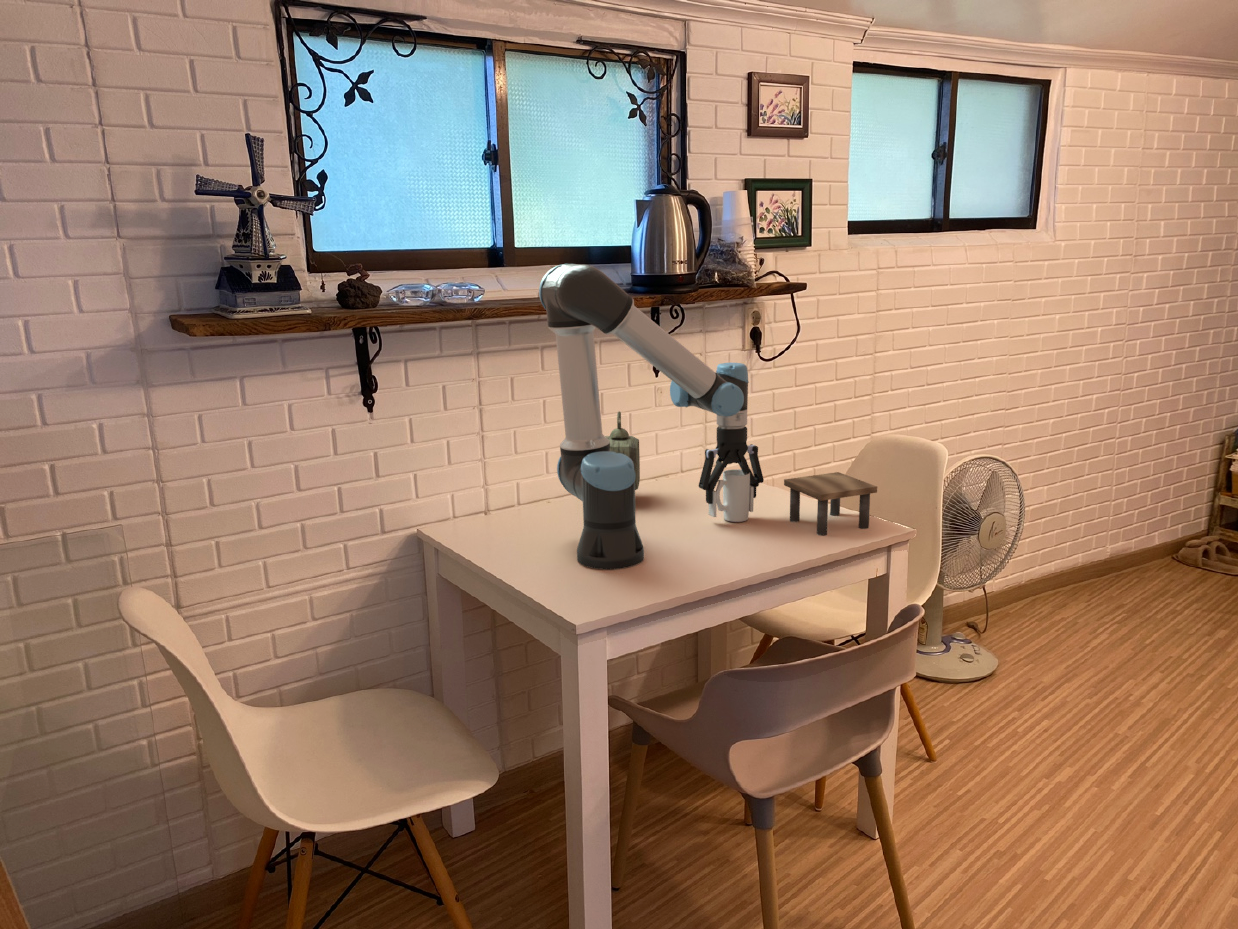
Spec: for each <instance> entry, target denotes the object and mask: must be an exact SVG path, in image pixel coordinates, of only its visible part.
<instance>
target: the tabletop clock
mask: <svg viewBox="0 0 1238 929" xmlns="http://www.w3.org/2000/svg"><path fill="white" fill-rule="evenodd" d="M616 423H617V424H616V428H614V429H612V431H610V434H609V435H606V436H605V435H604V436H605V437H606V438H607V439H609V441H610V451H611V452H616V453H621V454H624V455H626V456H628V457H629V458H630V459H631V460H632V461H633V464H634V471H635V491H637V490H638V489H639V486H640V482H641V478H640V477H641V467H640V465H641V464H640V462H641V461H640V460H641V459H640V458H641V457H640V440H639V438H637V437H635V436H633V435H629V434H630V433H628V431H627V430H626V429H625V428H623V427H622V413H621V411H617V415H616Z"/></svg>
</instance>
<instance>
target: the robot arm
mask: <svg viewBox="0 0 1238 929" xmlns="http://www.w3.org/2000/svg"><path fill="white" fill-rule="evenodd" d="M538 296H539V300H540V303H541V305H542V307H543V308H544V310H546V320H547V327H548V329H549V330H550V331H551V332H552V333H553V334H554V335H555V341H556V342H555V343H556V351H557V352H556V353H557V361H558V362H557V363H558V371H559V373H558V374H559V382H560V384H559V385H560V393H561V401H562V402H561V404H562V405H561V406H562V412H563V423H564V424H563V425H564V433H565V438H564V439H563V440H562V442H561V443H560V445H559V448H560V449H559V450H560V456H559V457H558V461H557V465H556V471H557V472H556V473H557V477H558V480H559V482H560V484H561V485H562V486H563V488H564V489H565V490H566V492H568V493H569V494H571V495H572V496H574V497H576V498H577V499H578V500H580V501H581V502H582V514H583V515H582V517H583V528H582V531H581V534H580V538H579V542H578V545H577V547H576V548H577V549H576V561H577V562H578V563H579V564H580V565H581V566H584V567H586V568H590V569H596V570H621V569H626V568H627V569H628V568H631V567H634V566H636V565H639V564H640V563H642V562H643V561H644V559H645V547H644V545H643V542H642V539H641V536H640V534H639V531H638V528H637V521H636V490H635V471H634V464H633V461H632V460H631V459H630V458H629V457H628V456H626V455H624V454H621V453H616V452H611V451H610V441H609V439H607V438H606V437H605V435H604V434H603V426H602V415H601V414H602V413H601V402H600V392H599V391H600V390H599V381H598V380H599V378H598V368H597V366H598V365H597V359H596V358H597V356H596V344H595V335H594V332H595V330H596V328H597V329H598V330H600V332H602V333H603V334H604V335H613V336H614V337H615V338H617V339H619V340H620V341H621V342H623V343H624V344H625V345H626V346H628V347H629V348H630V349H631V350H633V351H634V352H635V353H636V354H638V355H639V356H640V357H641V358H643V360H645V361H646V362H648V363H649V364H650V365H652V366H653V367H654V368H655V369H657V371H659V372H661V373H662V374H663V375H665V376H666V377H667V378H668V379H670V381H671V382H670V386H669V396H670V400H671V402H672V405H674V406H675V407H677V408H688V407H695V408H698V409H702V410H704V411H708V412H709V413H712V414H716V425H717V427H716V446H715V448H714V449H713V448H712V449H708V448H706V449H705V450H704V461H703V462H704V463H703V466H702V471H701V475H700V477H699V478H700V479H699V482H698V488H699V489H702V490H703V491H705V502H706V503H707V504H708V515H709V516H711V517H713V518H717V503H716V501H717V492H716V490H715V489H716V487H717V485H718V480H720V477H721V476H722V475H723V472H724V471H725V468H727V466H728V465H732V464H737V465H739V467H740V470H742V471H743V473H744V475H747V474H749V473H750V491H749V513H753V512H754V499H756V498H757V488H758V487H759V486H760V484H762V483H764V476H763V472H762V468H761V464H760V459H759V455H758V454H759V447H758V446H757V445H755V444H749V445H748V444H747V440H748V428H747V425H748V404H749V403H748V402H749V400H748V396H749V395H748V394H749V383H750V382H749V372H748V366H747V365H746V364H745V363H743V362H742V363H741V362H723V363H721V362H720V363H719V364H717V366H716V370H715V371H714V370H713V369H712V368H711V367H709V366H708V365H707V364H705V363H704V362H703V360H701V359H699V357H697V356H696V355H695V354H694V353H692V351H690V350H689V349H688V348H686V346H684V344H683V345H682V343H681V342H679V341H678V340H676V339H675V338H674V337H673V336H672V335H671V334H669V333H668V332H667V331H666V330H664V329H663V328H662V327H661V326H659V324H657V323H656V322H655V321H653V320H652V319H651V318H650V317H649V316H648V315H647V314H645V313H644V312H643V311H642V310H641V309H639V308H637V307H636V306H635V300H634V298H633V297H632V296H631V295H629V294H628V293H627V292H626V291H625V290H624V289H623V288H622V287H620V286H619V285H618V284H617V283H616V282H615V281H613V279H611V278H610V277H609V276H608V275H606V273H604V272H603V271H602V270H600V269H598V268H597V267H595V266H592V265H588V264H576V263H564V264H559V265H556V266H555V267H552V268H550V269H549V270H548V271H547V272H546V273H545V274H544V275H543V277H542V279H541V281H540V284H539V288H538ZM747 453H748V457H749V461H750V462H749V463H750V465H751V468H750V467H749V466H750V465H748V461H747V459H746V457H745V455H746V454H747ZM716 456H718V458H717V457H716ZM716 458H717V460H715V459H716ZM715 461H716V462H715ZM714 463H715V465H714ZM713 467H714V468H713Z"/></svg>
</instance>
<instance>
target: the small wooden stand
mask: <svg viewBox="0 0 1238 929" xmlns="http://www.w3.org/2000/svg"><path fill="white" fill-rule="evenodd" d="M783 485H784V486H785V487H788V488H790V492H789V493H790V494H789V521H790V522H791V523H798V522H800V515H801V506H800V505H801V494H804V495H806V496H807V497H810V498H812V499H816V500H817V514H816V515H817V516H816V517H817V518H816V535H817V536H820V537H821V536H827V535H828V521H829V520H828V518H829V516H828V514H829V515H830V516H834V517H836V516H837V517H838V516H840V514H841V513H840V512H841V499H844V498H849V497H856V496H859V504H858V505H859V509H858V528H859V529H862V530H863V529H864V530H865V529H866V530H867V529H869V528H870V505H871V494H876V493H878V486H877V485H875V484H871V483H869V482H866V481H863V480H861V479H858V478H855V477H852V476H849V475H848V474H845V473H841V472H839V471H838V472H837V471H835V472H828V473H822V474H821V473H820V474H815V475H808V476H807V475H806V476H800V477H791V478H784V479H783ZM829 500H830V504H829ZM829 508H830V510H828V509H829ZM829 511H830V512H829Z"/></svg>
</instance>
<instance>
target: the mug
mask: <svg viewBox="0 0 1238 929" xmlns="http://www.w3.org/2000/svg"><path fill="white" fill-rule="evenodd" d="M715 489H716V490H715V491H716V492H717V501H716V507H717V508H718V511H720V512H723V519H724V520H725V521H727V522H733V523H741V522H745V521H747V520H748V519H749V515H750V511H749V491H750V473H749V474H747V475H744V473H743V471H742V469H741V468H740V469H726V470H723V472H722V479H719V480H718V482H717V484H716V487H715ZM721 490H722V496H723V497H722V499H723V500H722V501H723V502H721V497H720V496H721V494H720V493H721Z"/></svg>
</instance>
